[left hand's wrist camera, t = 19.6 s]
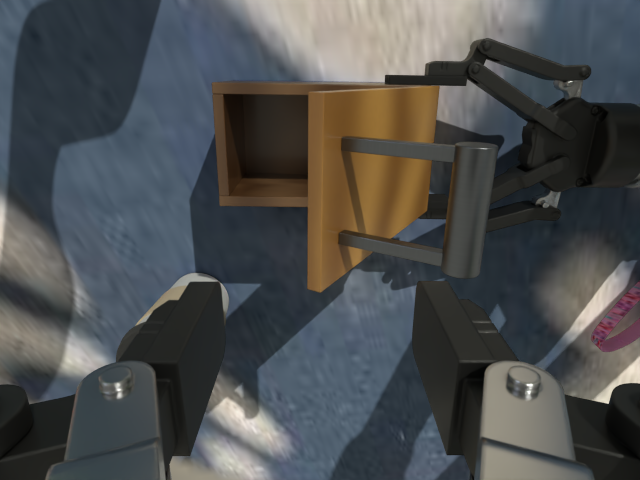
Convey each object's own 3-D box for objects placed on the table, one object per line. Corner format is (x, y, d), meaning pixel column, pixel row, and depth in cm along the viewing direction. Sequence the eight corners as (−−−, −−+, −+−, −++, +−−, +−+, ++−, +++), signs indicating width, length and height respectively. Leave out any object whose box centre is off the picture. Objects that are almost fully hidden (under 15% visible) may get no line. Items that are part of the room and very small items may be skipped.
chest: (239, 179, 49) (219, 206, 39) (234, 80, 45) (211, 82, 36) (400, 181, 49) (421, 208, 39) (408, 82, 46) (433, 85, 36)
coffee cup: (203, 344, 56) (164, 435, 42) (146, 297, 54) (85, 376, 40) (253, 300, 54) (230, 380, 40) (196, 249, 52) (150, 315, 38)
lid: (307, 289, 24) (462, 333, 20) (307, 91, 21) (495, 99, 17) (417, 209, 39) (520, 226, 35) (429, 85, 35) (544, 88, 32)
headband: (609, 350, 56) (619, 361, 54) (584, 336, 56) (594, 347, 54) (673, 283, 53) (687, 292, 51) (648, 267, 52) (661, 275, 50)
